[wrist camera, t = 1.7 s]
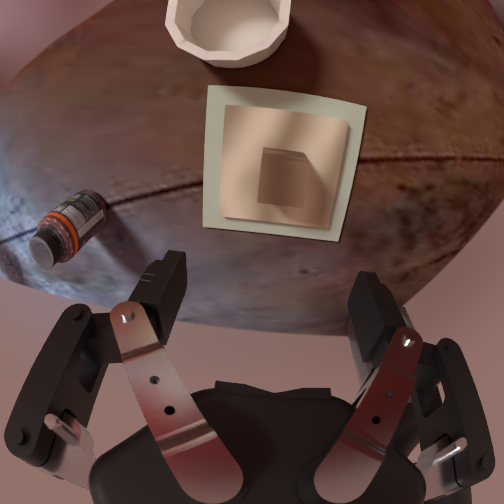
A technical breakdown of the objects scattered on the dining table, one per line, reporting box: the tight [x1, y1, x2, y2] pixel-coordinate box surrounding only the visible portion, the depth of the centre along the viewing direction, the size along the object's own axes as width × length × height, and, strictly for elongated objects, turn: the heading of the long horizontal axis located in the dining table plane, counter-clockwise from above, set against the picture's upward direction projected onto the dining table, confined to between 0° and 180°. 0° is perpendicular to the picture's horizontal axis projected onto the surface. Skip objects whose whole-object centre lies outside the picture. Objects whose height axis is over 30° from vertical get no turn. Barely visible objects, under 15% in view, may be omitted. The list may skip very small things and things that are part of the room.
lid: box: [219, 105, 348, 228], centre depth 24 cm, size 12×12×6 cm
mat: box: [203, 86, 366, 242], centre depth 27 cm, size 16×16×1 cm
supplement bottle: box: [29, 190, 107, 269], centre depth 26 cm, size 6×6×11 cm
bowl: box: [165, 0, 291, 68], centre depth 17 cm, size 10×10×6 cm
